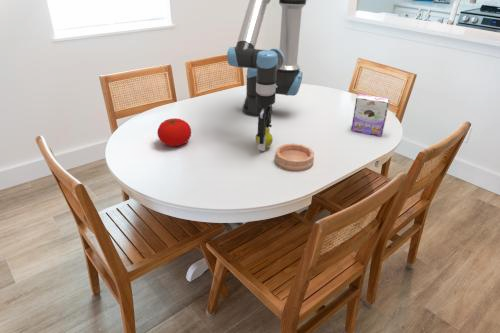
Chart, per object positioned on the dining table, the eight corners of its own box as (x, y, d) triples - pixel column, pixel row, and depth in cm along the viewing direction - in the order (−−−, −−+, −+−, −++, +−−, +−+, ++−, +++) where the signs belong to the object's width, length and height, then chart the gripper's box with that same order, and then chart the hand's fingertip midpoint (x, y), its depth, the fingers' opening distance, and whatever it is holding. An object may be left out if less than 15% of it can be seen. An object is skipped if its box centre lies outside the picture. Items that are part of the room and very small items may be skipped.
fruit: (259, 152, 152) (260, 125, 146) (252, 144, 157) (253, 118, 151) (274, 148, 154) (276, 122, 148) (267, 141, 160) (268, 115, 153)
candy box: (383, 132, 172) (390, 98, 164) (381, 137, 167) (388, 102, 159) (352, 126, 177) (358, 93, 168) (350, 131, 172) (356, 97, 164)
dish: (271, 167, 142) (272, 158, 140) (278, 150, 155) (279, 141, 153) (310, 173, 139) (312, 164, 137) (315, 155, 152) (316, 146, 150)
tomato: (180, 133, 167) (178, 111, 161) (198, 143, 159) (196, 120, 154) (152, 143, 158) (149, 120, 153) (169, 154, 150) (167, 130, 145)
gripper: (269, 103, 135) (267, 158, 147) (280, 85, 151) (277, 136, 163) (249, 101, 136) (248, 155, 148) (262, 83, 153) (260, 134, 165)
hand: (263, 145), depth 156 cm, fingers closed on fruit, 7 cm apart
